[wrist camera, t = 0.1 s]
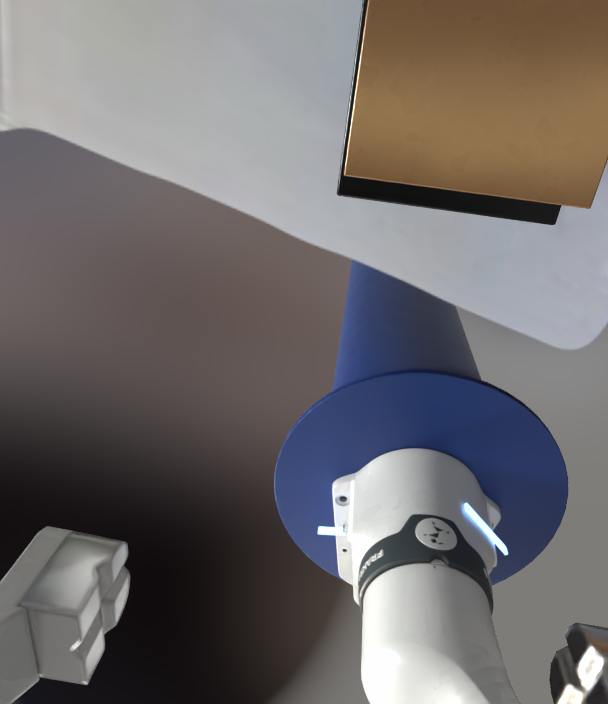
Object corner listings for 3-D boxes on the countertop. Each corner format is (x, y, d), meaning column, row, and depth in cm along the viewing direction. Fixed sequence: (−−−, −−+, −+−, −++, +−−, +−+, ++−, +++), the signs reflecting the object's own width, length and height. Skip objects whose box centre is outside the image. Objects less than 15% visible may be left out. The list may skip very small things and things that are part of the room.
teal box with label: (464, 152, 44) (560, 226, 21) (358, 138, 44) (336, 195, 21) (507, -34, 38) (709, -219, 15) (385, -48, 38) (396, -247, 15)
